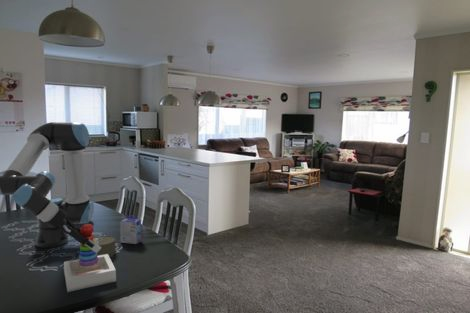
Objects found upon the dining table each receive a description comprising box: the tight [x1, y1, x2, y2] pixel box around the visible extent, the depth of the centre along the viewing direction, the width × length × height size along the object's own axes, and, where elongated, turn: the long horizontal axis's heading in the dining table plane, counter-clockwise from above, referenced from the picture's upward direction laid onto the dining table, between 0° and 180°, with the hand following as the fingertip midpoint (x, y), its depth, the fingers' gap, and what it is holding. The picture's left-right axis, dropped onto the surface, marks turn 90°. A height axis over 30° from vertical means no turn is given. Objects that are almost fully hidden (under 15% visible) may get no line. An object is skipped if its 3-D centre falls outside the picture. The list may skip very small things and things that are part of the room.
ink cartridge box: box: [120, 214, 142, 245], centre depth 178 cm, size 10×6×14 cm, turn 78°
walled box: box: [63, 254, 117, 293], centre depth 139 cm, size 18×18×5 cm
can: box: [94, 235, 116, 257], centre depth 163 cm, size 12×12×7 cm
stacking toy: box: [78, 223, 99, 270], centre depth 137 cm, size 8×8×19 cm
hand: (97, 247), depth 139 cm, fingers closed on stacking toy, 6 cm apart
